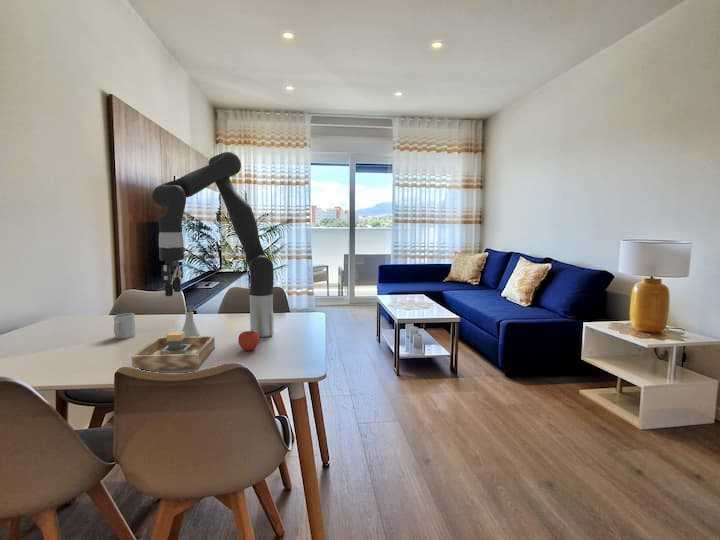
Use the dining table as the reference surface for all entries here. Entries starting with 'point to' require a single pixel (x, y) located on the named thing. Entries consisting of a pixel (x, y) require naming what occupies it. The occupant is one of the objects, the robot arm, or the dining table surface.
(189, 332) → the flask
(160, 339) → the walled box
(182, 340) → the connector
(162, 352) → the frame
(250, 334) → the apple
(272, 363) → the dining table surface
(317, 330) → the dining table surface
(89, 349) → the dining table surface
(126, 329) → the cup
